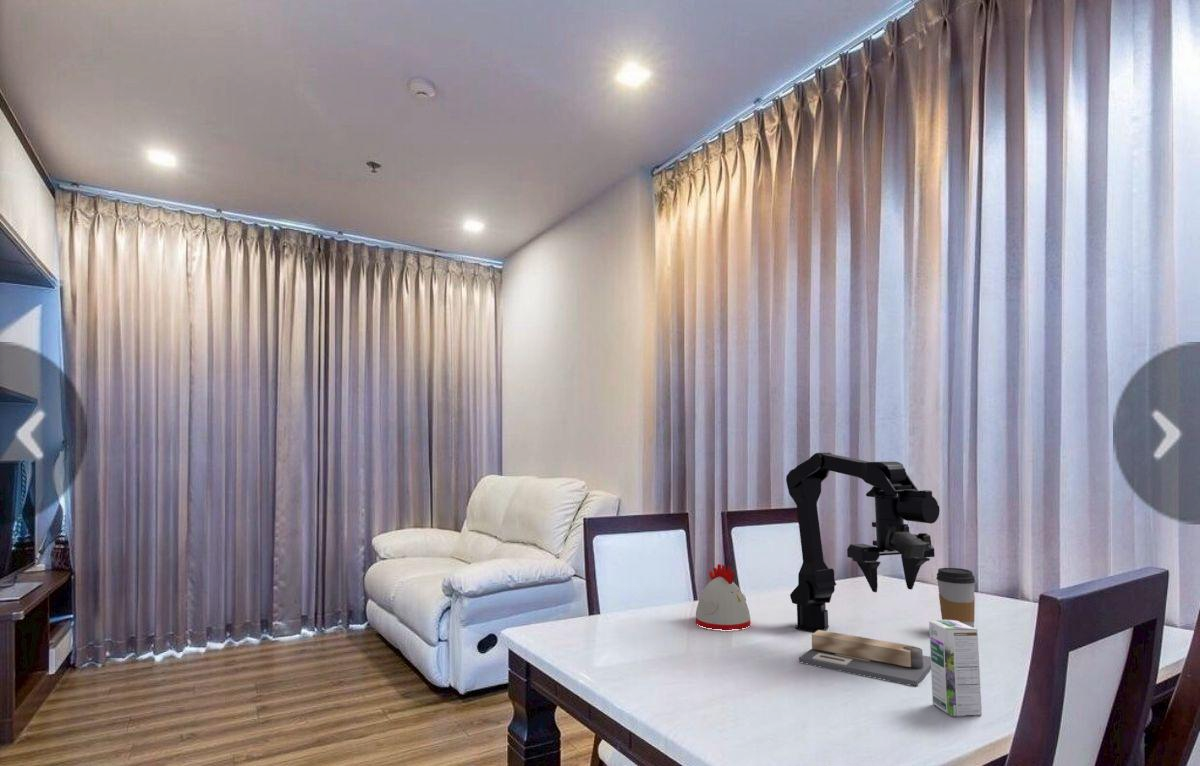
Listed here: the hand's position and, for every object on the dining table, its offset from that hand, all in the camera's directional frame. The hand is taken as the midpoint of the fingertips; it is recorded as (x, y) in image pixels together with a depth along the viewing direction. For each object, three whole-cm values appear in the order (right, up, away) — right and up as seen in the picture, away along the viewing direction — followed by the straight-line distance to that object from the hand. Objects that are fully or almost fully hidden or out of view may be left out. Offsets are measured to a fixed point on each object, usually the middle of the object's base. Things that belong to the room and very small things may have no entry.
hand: (892, 590), depth 143 cm
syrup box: (-2, -11, -30) cm, 32 cm away
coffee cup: (+22, -15, +14) cm, 30 cm away
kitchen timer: (-33, -17, +25) cm, 44 cm away
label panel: (-8, -13, -6) cm, 16 cm away
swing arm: (-8, -12, -6) cm, 15 cm away
